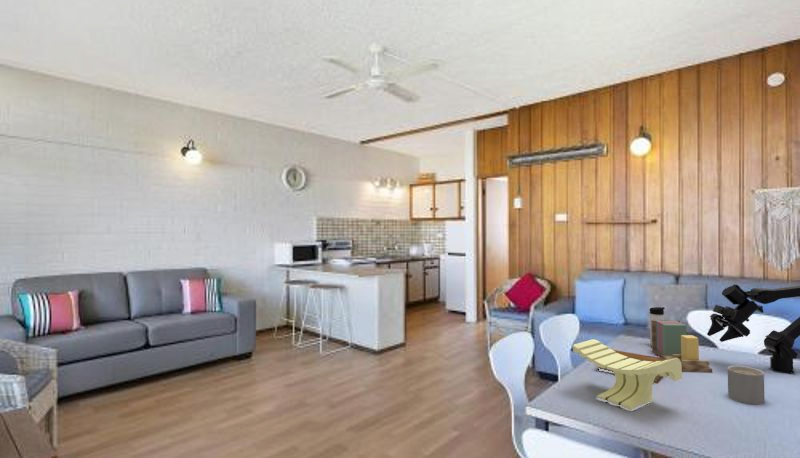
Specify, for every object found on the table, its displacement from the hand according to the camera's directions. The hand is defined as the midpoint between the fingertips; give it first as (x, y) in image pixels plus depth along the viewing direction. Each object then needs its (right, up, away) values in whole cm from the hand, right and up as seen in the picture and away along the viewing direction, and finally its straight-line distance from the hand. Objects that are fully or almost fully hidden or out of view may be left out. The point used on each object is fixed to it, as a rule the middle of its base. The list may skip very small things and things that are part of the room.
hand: (713, 338), depth 180 cm
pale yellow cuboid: (-9, -12, +1) cm, 15 cm away
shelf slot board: (-8, -13, +10) cm, 18 cm away
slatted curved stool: (-53, -15, -29) cm, 62 cm away
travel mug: (-3, -13, +34) cm, 36 cm away
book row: (-6, -12, +18) cm, 23 cm away
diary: (-34, -15, 0) cm, 37 cm away
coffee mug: (-10, -14, -30) cm, 34 cm away
